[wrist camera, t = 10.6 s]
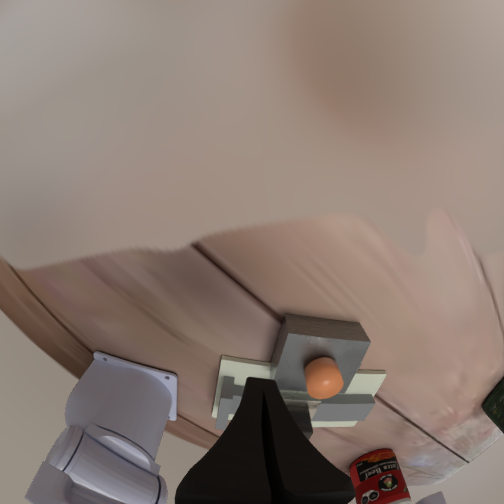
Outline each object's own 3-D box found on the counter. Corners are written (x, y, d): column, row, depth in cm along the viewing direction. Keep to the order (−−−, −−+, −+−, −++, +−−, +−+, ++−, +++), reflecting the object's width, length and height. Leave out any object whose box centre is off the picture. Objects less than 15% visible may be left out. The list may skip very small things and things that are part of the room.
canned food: (399, 442, 30) (420, 495, 19) (385, 465, 32) (400, 512, 22) (354, 454, 30) (369, 512, 20) (344, 474, 33) (355, 525, 22)
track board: (212, 413, 27) (208, 437, 23) (222, 355, 24) (217, 381, 21) (352, 422, 27) (359, 444, 24) (385, 370, 25) (396, 392, 21)
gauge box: (269, 366, 24) (270, 388, 22) (284, 313, 23) (288, 333, 20) (340, 372, 25) (347, 393, 22) (362, 323, 23) (373, 342, 20)
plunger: (299, 381, 21) (302, 398, 19) (309, 355, 20) (314, 372, 18) (330, 383, 21) (335, 399, 19) (342, 358, 20) (348, 374, 18)
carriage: (254, 417, 26) (254, 458, 20) (266, 380, 24) (268, 425, 19) (299, 420, 26) (304, 460, 21) (317, 384, 24) (327, 427, 19)
